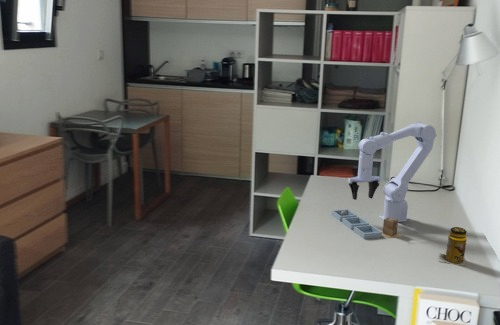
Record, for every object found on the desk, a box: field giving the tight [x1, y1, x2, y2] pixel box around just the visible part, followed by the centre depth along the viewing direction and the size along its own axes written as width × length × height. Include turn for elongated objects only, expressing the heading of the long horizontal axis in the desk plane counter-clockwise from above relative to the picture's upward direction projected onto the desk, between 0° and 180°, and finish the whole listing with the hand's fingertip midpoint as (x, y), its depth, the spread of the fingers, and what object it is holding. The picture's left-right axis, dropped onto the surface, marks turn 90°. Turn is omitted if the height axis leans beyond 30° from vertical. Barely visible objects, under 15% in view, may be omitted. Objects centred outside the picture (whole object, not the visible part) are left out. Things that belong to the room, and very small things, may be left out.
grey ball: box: [341, 211, 348, 216], centre depth 222 cm, size 3×3×3 cm
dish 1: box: [330, 208, 358, 222], centre depth 222 cm, size 8×8×2 cm
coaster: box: [380, 230, 404, 239], centre depth 205 cm, size 7×7×1 cm
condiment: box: [438, 226, 468, 267], centre depth 182 cm, size 7×8×12 cm
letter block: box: [382, 217, 399, 236], centre depth 204 cm, size 4×4×6 cm
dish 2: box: [341, 216, 370, 231], centre depth 213 cm, size 8×8×2 cm
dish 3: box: [353, 224, 383, 240], centre depth 204 cm, size 8×8×2 cm
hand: (362, 198), depth 218 cm, fingers open, 7 cm apart
